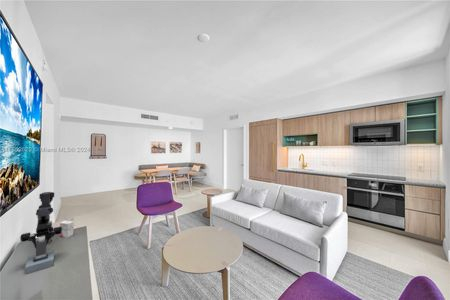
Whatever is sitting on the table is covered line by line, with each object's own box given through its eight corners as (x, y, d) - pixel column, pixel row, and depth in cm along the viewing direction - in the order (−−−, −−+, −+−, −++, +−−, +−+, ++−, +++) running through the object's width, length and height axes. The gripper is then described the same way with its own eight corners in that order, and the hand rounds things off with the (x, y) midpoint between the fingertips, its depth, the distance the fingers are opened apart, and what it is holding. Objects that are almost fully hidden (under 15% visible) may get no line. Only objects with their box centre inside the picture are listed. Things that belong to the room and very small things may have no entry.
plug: (36, 255, 112) (37, 236, 112) (46, 253, 115) (47, 234, 115) (35, 259, 108) (36, 239, 108) (45, 256, 111) (46, 236, 111)
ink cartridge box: (58, 236, 146) (59, 219, 146) (64, 233, 151) (65, 217, 151) (67, 237, 145) (68, 219, 145) (73, 234, 150) (74, 217, 150)
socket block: (28, 262, 112) (28, 256, 112) (53, 255, 121) (54, 249, 121) (24, 274, 102) (24, 267, 102) (53, 265, 110) (53, 259, 110)
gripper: (21, 221, 108) (17, 246, 100) (62, 214, 121) (61, 236, 113) (23, 229, 114) (19, 254, 106) (61, 222, 127) (61, 243, 118)
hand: (41, 246), depth 110 cm, fingers closed on plug, 4 cm apart
